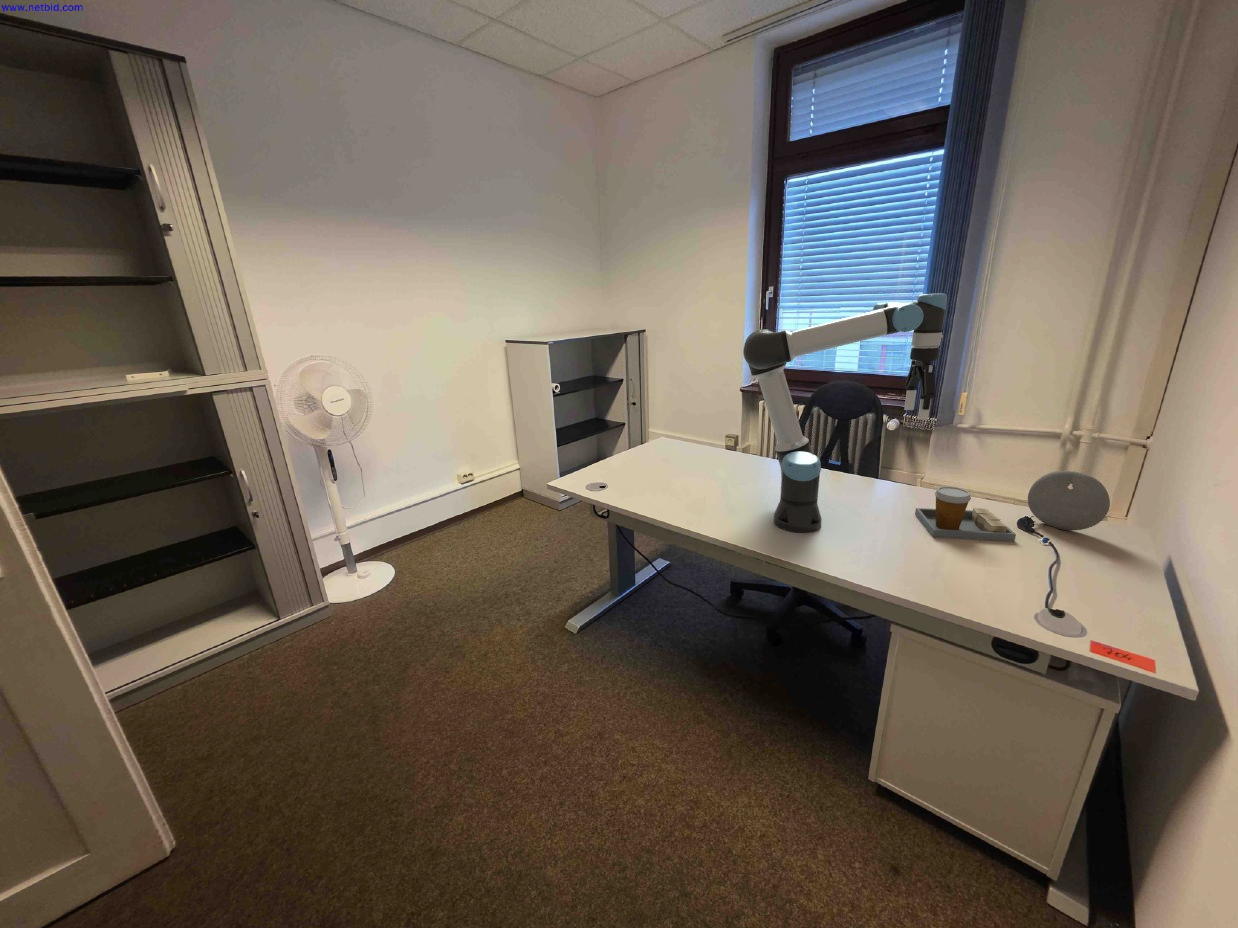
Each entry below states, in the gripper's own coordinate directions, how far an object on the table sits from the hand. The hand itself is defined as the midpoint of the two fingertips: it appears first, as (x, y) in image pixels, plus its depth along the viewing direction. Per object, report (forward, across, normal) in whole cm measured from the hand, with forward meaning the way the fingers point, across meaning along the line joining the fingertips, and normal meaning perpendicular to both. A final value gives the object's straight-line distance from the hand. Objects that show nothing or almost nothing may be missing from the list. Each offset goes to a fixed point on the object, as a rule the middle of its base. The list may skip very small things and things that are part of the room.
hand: (915, 414), depth 156 cm
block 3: (+34, -14, -22) cm, 43 cm away
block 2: (+34, -10, -22) cm, 42 cm away
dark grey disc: (+35, -6, -43) cm, 56 cm away
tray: (+35, -10, -14) cm, 39 cm away
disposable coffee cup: (+34, -10, -10) cm, 37 cm away
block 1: (+34, -6, -22) cm, 41 cm away
